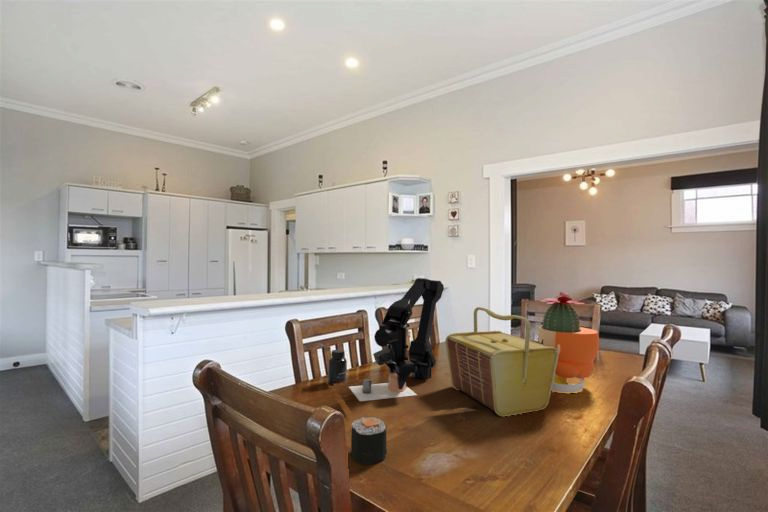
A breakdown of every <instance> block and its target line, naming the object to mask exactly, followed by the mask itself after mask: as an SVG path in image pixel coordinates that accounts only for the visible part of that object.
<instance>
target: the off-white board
mask: <svg viewBox="0 0 768 512" xmlns="http://www.w3.org/2000/svg"><path fill="white" fill-rule="evenodd" d="M388 383H389V382H384V383H383V382H382V383H375V384H372V383H371V393H370V394H364V393H362V387H363V384H362V385H354V386H353V385H351V386H348V388H349V390H351V392H352V394H353V395H354V396H355V397H356V399H357V400H358V401H359V402H367V401H375V400H377V401H378V400H384V399H395V398H402V397H411V396H418V394H417V393H415V392H414V390H412V389H410V387H408V386H407V385H406V390H405V391H403V392H393V391H390V390H389V389H388Z"/></svg>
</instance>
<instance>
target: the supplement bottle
mask: <svg viewBox="0 0 768 512" xmlns="http://www.w3.org/2000/svg"><path fill="white" fill-rule="evenodd" d="M327 365H328V366H327V383H328V385H329V386H334V387H335V384H334V383H343V382H346V380H347V367H348V361H347V358H346V356H345V350H343V349H332V350H331V354H330V358H329V359H328V364H327Z"/></svg>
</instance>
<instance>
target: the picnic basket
mask: <svg viewBox="0 0 768 512" xmlns="http://www.w3.org/2000/svg"><path fill="white" fill-rule="evenodd" d="M479 311H483V312H485V313H486V314H487V315H488V316H490V317H491V318H493V319H496V320H500V321H511V320H514V319H516V320H521V321H523V322H524V323H525V325H526V326H525V338H522V337H519V336H516V335H512V334H508V333H505V332H502V331H501V330H489V331H486V330H485V331H484V330H483V331H478V312H479ZM445 349H446V355H447V361H448V369H449V375H450V379H451V382H450V383H451V385H452V386H453V388H454V389H455V390H458V391H461V392H462V393H464V394H466V395H468V396H469V397H471V398H472V399H475V400H476V401H477V402H479V403H480V404H482V405H484V406H485V407H487V408H489V409H490V410H492V411H493V412H495V414H496V415H498V416H500V417H503V418H504V417H505V416H507V417H512V416H511V415H514V416H517V414H520V415H523V414H522V413H526V412H532V411H536V410H542V409H543V410H545V409H546V408H547V406H548V405H549V402H550V398H551V394H552V392H551V390H552V385H553V380H554V375H555V371H556V366H557V361H558V354H559V353H558V351H557V349H556V348H554V347H549V346H545V345H542V344H539V342H535V341H532V340H531V322H530V320H528V319H527V317H524V316H521V315H516V314H514V315H513V314H511V315H510V314H508V315H507V314H506V315H503V314H502V315H501V314H499V313H495V312H494V311H492V310H490V309H489V308H486V307H481V306H477V307H476V308H474V310H473V331H468V332H453V333H450V334H447V336H446V338H445ZM543 410H542V411H543ZM505 418H506V417H505Z"/></svg>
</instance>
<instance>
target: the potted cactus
mask: <svg viewBox="0 0 768 512" xmlns="http://www.w3.org/2000/svg"><path fill="white" fill-rule="evenodd" d="M539 302H540V303H546V305H549V306H548V307H547V308H546V309H545V313H542V315H543V316H542V315H541V318H542V319H541V318H540V319H541V321H542V323H540V326H539V327H538V332H537V333H538V334H537V341H538V342H537V343H539V344H542V345H545V346H549V347H554V348H556V349H557V351H558V353H559V354H558V361H557V366H556V371H555V375H554V380H553V385H552V390H555V391H561V392H575V391H579V390H581V389H583V387H584V388H585V379H586V378H589V377H590V376H592V374H593V373H594V369H595V364H594V361H595V359H596V358H597V356H598V354H599V350H600V344H601V343H600V337H599V331H597V330H596V329H591V328H588V327H582V323H581V322H582V319H580V317H581V315H579V313H578V311H577V307H576V308H574V305H578V306H583V305H584V306H585V305H586V303H585V302H579V300H573V299H572V298H571V297H570V294H569V293H567V292H563V291H562V292H561V291H560V292H559V294H558V295H557V296H556V297H547V298H542V300H539ZM567 378H574V379H577V380H579V381H580V382H581V383H578V384H571V385H568V381H567Z"/></svg>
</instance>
